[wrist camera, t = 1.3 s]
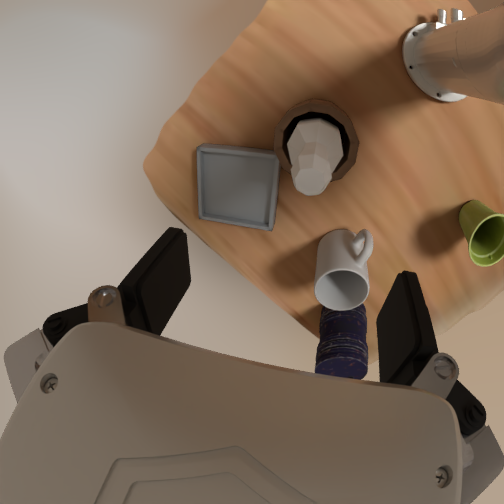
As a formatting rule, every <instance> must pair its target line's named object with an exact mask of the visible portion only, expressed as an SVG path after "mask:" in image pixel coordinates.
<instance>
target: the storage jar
mask: <svg viewBox="0 0 504 504" xmlns="http://www.w3.org/2000/svg"><path fill="white" fill-rule="evenodd" d="M319 329H320V331H319V332H320V342H319V344H318V347H317V354H316V366H315V373H317V374H323V375H329V376H336V377H343V378H351V379H358V380H361V379H363V378H364V377H365V375H366V374H367V371H368V366H367V365H368V346H367V343H366V333H367V318H366V309H365V306H364V304H363V303H362V304H361V305H359V306H357V307H355V308H353V309H350V310H343V311H338V310H332V309H329V308H327V307H325V306H323V308H322V313H321V319H320V328H319Z"/></svg>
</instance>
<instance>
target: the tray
mask: <svg viewBox="0 0 504 504" xmlns="http://www.w3.org/2000/svg"><path fill="white" fill-rule="evenodd" d="M280 169H281V164H280V162H279V160H278V158H277V156H276V153H275V151H274V150H266V149H258V148H249V147H240V146H229V145H218V144H204V143H203V144H201V145H200V146H198V147H197V181H198V208H199V219H204V220H210V221H216V222H222V223H227V224H233V225H239V226H245V227H250V228H256V229H262V230H267V231H272V230H273V227H274V224H275V216H276V206H277V197H278V188H279V178H280Z"/></svg>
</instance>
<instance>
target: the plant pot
mask: <svg viewBox="0 0 504 504" xmlns="http://www.w3.org/2000/svg"><path fill="white" fill-rule="evenodd" d="M459 223H460V226H461V228H462V230H463V233H464V235H465V237H466V239H467V242H468V250H469V255H470V258H471V260H472V261H473V262H474V263H475V264H476V265H478V266H483V267H485V266H491V265H493V264H495V263H497V262H498V261H500V260H501V259H502V258H503V257H504V215H503V214H500V213H496V212H494V211H493V210H491V209H490V208H488V207H487V206H486V205H484V204H483V203H481V202H480V201H478V200H471V201H470V202H468V203H467V204H465V205H464V206H463V207H462V209H461V211H460V213H459Z"/></svg>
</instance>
